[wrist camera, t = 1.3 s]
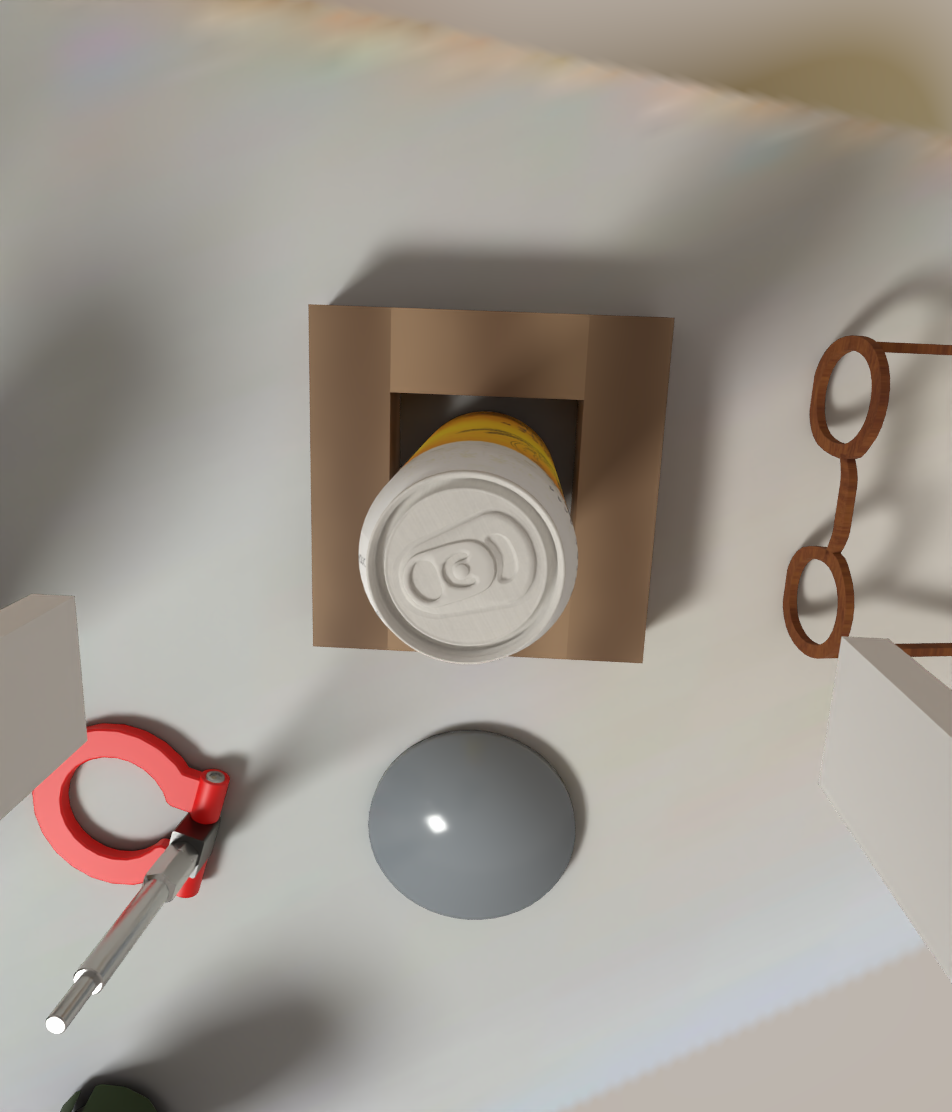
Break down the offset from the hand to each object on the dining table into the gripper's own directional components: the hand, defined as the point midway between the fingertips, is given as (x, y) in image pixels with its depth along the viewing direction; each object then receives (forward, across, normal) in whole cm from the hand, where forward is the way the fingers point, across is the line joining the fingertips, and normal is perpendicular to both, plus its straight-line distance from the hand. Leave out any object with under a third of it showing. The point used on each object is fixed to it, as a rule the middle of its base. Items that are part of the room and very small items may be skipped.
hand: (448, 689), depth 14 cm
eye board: (+23, 0, 0) cm, 23 cm away
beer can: (+23, 0, 0) cm, 23 cm away
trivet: (+23, 0, -17) cm, 28 cm away
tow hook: (+23, -17, -17) cm, 33 cm away
